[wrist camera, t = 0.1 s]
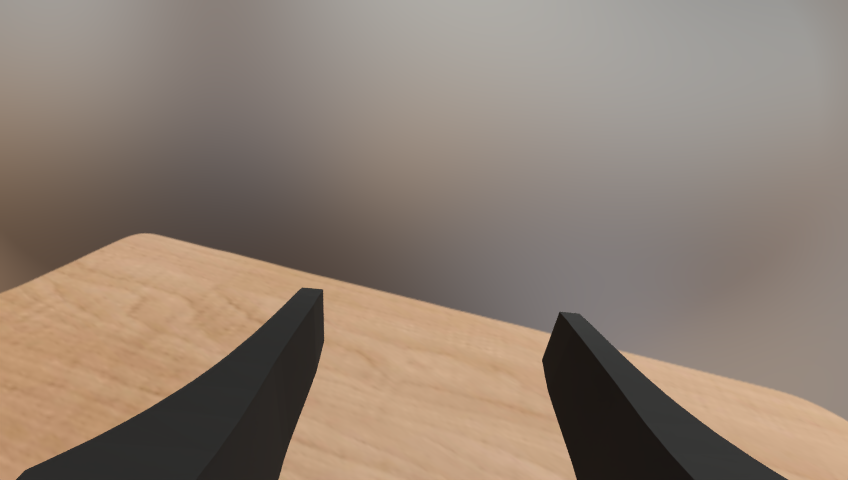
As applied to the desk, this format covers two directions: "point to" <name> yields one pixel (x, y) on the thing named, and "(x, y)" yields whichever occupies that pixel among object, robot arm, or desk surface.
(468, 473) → the desk surface
